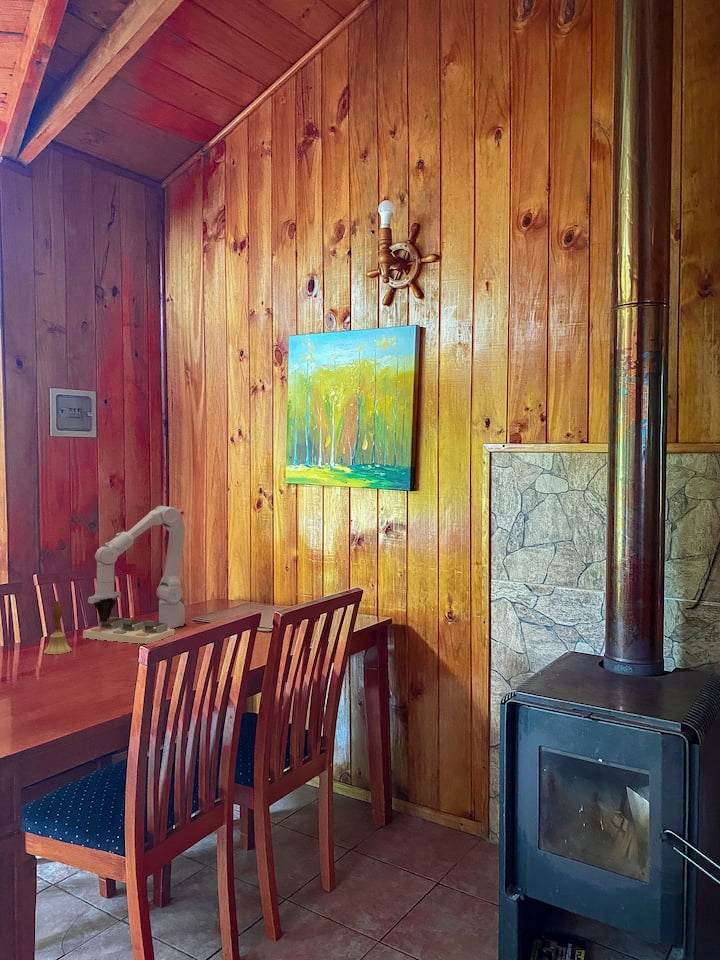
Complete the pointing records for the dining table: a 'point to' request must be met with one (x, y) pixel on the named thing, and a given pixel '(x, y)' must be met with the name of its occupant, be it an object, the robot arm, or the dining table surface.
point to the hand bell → (57, 635)
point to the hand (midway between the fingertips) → (104, 621)
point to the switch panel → (128, 632)
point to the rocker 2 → (152, 623)
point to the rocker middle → (130, 621)
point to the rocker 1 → (111, 620)
